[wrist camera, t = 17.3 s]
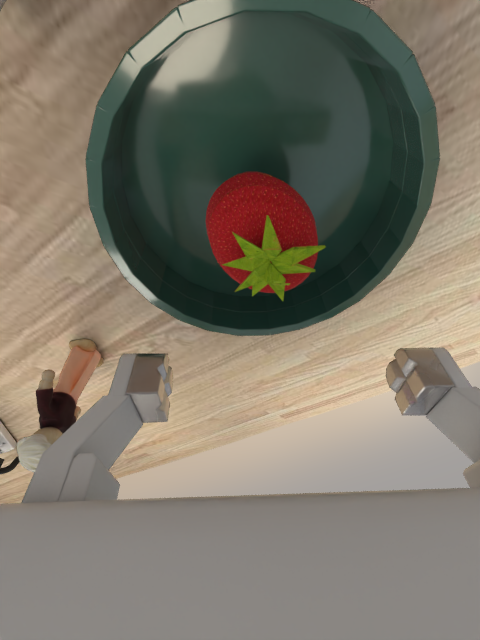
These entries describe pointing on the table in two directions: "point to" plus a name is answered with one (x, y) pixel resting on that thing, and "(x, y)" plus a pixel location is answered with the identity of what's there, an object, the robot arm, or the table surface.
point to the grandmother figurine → (59, 401)
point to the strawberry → (262, 233)
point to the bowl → (262, 152)
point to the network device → (2, 3)
